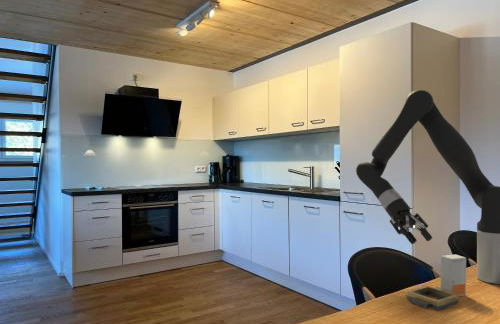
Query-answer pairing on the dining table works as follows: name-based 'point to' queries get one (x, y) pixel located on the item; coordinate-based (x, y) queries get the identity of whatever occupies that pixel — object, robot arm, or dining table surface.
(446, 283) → the skincare box
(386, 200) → the robot arm
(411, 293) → the beige grey rectangular frame
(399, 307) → the dining table surface
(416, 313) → the dining table surface
